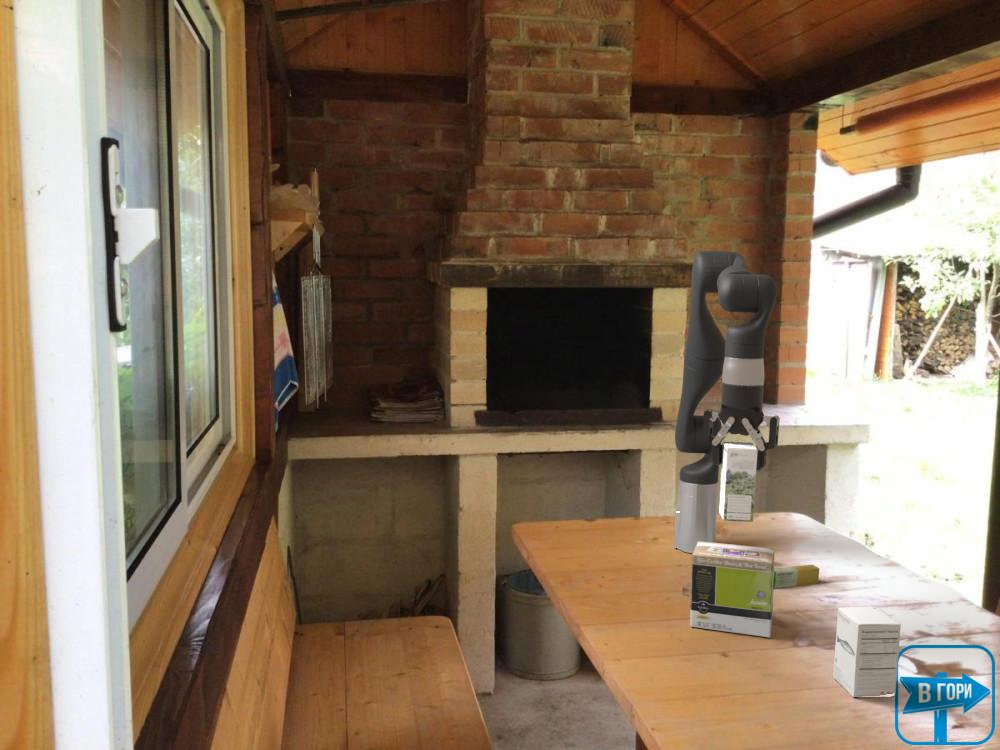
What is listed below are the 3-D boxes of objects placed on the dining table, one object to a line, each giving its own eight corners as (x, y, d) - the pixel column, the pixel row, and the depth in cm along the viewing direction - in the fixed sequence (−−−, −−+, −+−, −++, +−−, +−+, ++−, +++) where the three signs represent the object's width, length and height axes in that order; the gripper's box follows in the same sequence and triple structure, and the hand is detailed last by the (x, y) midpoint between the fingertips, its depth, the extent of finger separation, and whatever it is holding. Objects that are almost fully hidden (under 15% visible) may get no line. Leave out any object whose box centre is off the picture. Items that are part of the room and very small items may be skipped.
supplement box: (831, 678, 148) (836, 606, 147) (873, 677, 149) (878, 605, 148) (852, 699, 141) (857, 623, 140) (896, 698, 142) (902, 623, 140)
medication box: (772, 590, 190) (773, 572, 190) (765, 585, 193) (766, 567, 192) (819, 585, 194) (820, 567, 193) (811, 580, 196) (812, 563, 196)
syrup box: (748, 514, 171) (752, 440, 169) (754, 523, 165) (757, 447, 163) (718, 513, 172) (721, 439, 170) (723, 521, 166) (726, 446, 164)
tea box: (772, 620, 173) (776, 547, 171) (770, 639, 164) (774, 563, 162) (694, 609, 178) (697, 538, 176) (688, 628, 169) (691, 553, 167)
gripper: (699, 380, 166) (695, 466, 168) (777, 386, 158) (772, 475, 161) (711, 376, 172) (707, 458, 174) (786, 382, 165) (781, 468, 167)
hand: (738, 466), depth 167 cm, fingers closed on syrup box, 7 cm apart
